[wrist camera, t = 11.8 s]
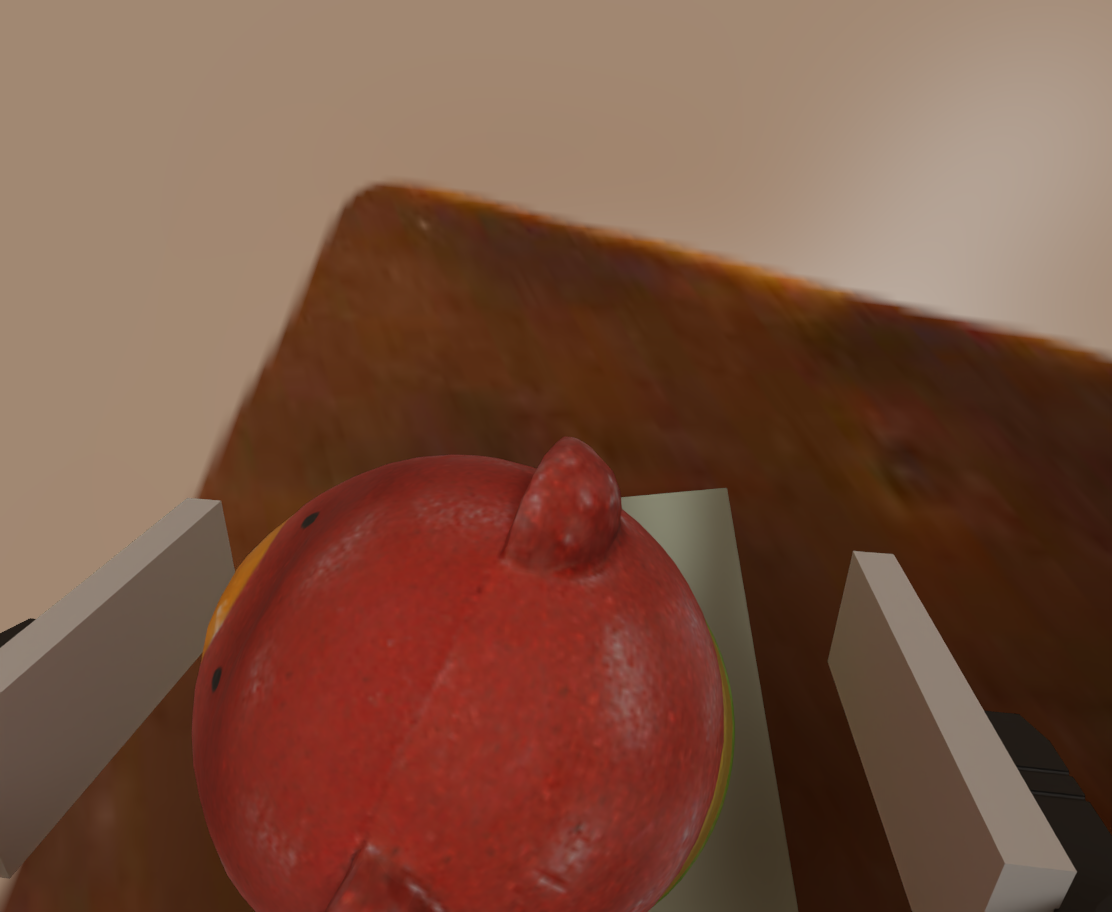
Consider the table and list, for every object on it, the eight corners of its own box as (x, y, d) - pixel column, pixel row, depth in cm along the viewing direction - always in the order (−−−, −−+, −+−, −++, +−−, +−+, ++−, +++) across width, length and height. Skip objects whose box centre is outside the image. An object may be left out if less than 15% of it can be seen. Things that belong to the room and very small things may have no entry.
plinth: (715, 510, 29) (726, 487, 26) (780, 914, 24) (803, 940, 21) (371, 542, 29) (346, 522, 26) (364, 944, 24) (333, 972, 22)
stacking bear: (501, 501, 26) (319, 121, 10) (756, 642, 24) (1097, 464, 7) (327, 778, 23) (-360, 922, 7) (599, 969, 21) (573, 1904, 4)
